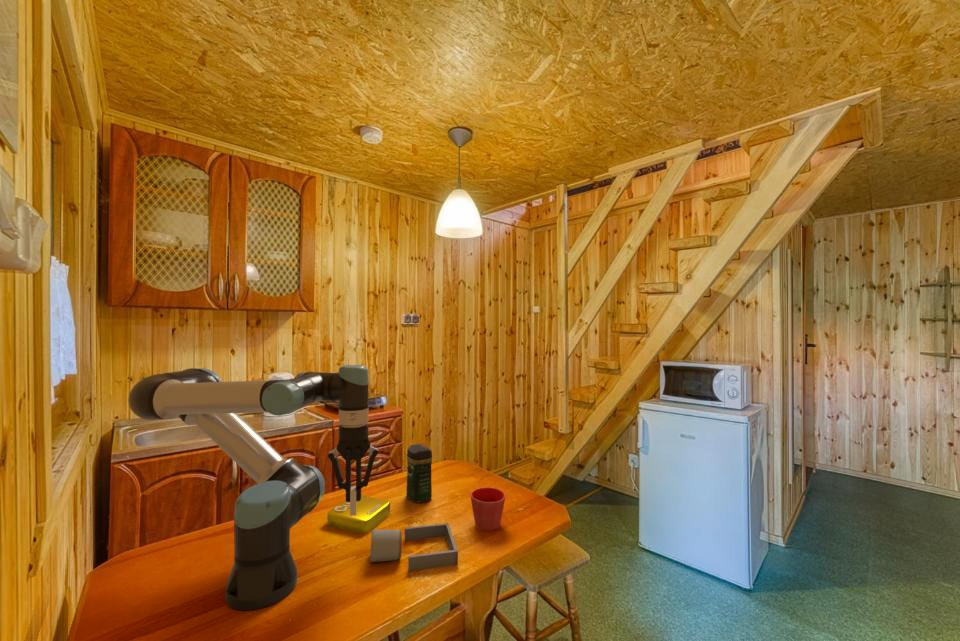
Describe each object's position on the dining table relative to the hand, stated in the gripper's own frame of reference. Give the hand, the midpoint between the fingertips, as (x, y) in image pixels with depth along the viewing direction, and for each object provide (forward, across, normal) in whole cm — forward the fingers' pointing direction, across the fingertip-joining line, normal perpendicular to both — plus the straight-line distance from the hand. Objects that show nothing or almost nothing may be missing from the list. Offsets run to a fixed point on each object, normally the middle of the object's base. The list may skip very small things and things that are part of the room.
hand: (353, 513), depth 109 cm
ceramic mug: (+13, +8, +1) cm, 16 cm away
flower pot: (+13, +40, +11) cm, 43 cm away
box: (+13, +20, 0) cm, 24 cm away
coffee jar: (+13, +21, +35) cm, 42 cm away
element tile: (+14, +1, +23) cm, 27 cm away
